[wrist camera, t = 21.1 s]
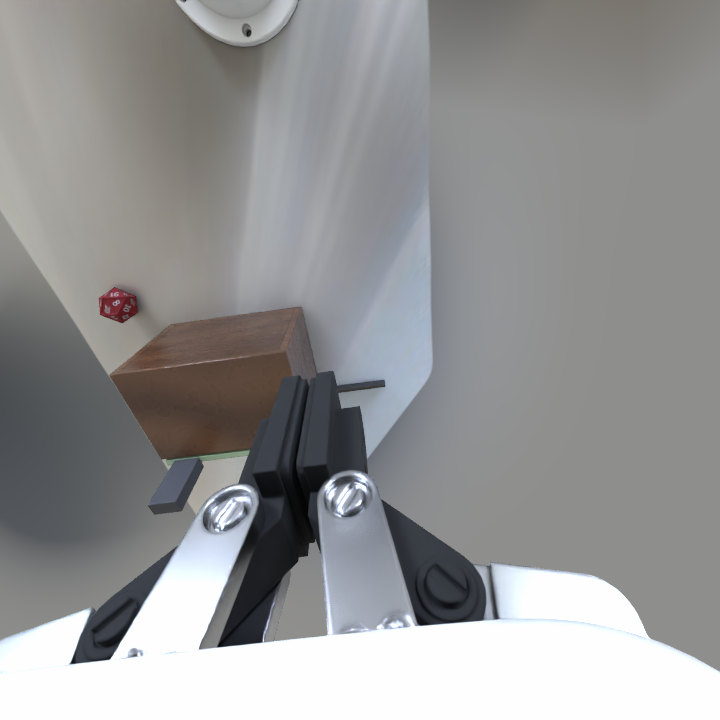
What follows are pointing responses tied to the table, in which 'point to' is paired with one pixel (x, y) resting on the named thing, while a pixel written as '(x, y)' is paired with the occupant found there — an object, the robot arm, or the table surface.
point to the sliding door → (184, 480)
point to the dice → (118, 305)
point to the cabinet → (216, 379)
